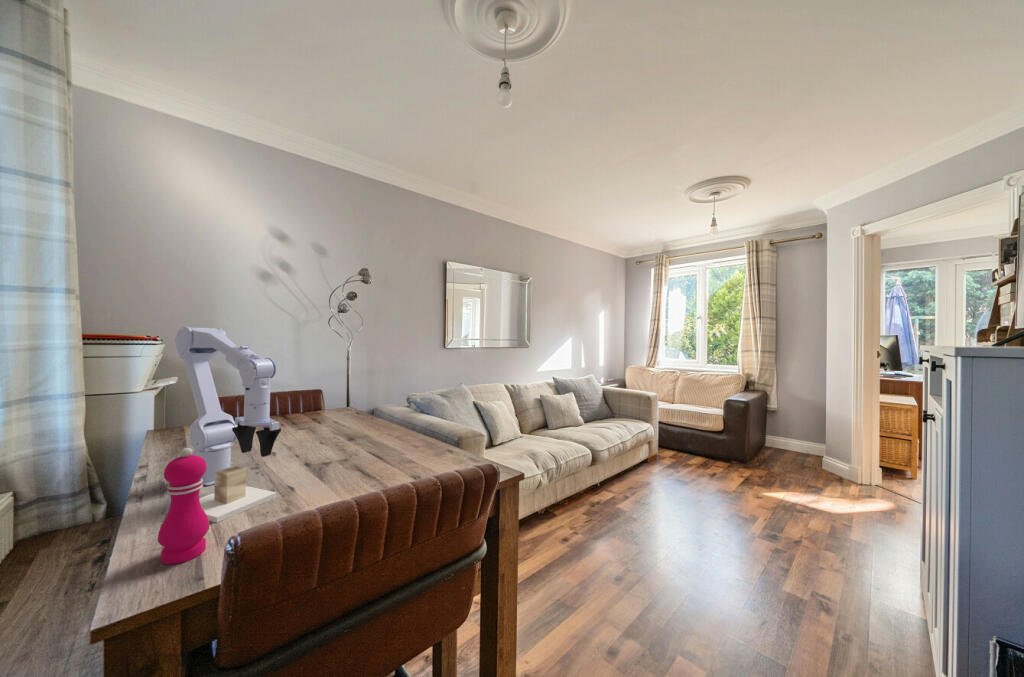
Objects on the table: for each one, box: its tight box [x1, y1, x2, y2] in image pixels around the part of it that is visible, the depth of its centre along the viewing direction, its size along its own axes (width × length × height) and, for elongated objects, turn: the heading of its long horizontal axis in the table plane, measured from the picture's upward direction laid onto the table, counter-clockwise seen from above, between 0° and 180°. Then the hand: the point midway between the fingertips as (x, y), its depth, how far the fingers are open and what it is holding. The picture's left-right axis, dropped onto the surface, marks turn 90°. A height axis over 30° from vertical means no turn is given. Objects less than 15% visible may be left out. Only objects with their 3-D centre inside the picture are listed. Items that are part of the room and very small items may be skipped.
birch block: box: [213, 465, 247, 504], centre depth 90 cm, size 4×4×7 cm
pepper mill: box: [157, 447, 210, 565], centre depth 69 cm, size 7×7×20 cm
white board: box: [199, 485, 278, 523], centre depth 89 cm, size 14×14×1 cm
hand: (256, 453), depth 99 cm, fingers open, 7 cm apart
